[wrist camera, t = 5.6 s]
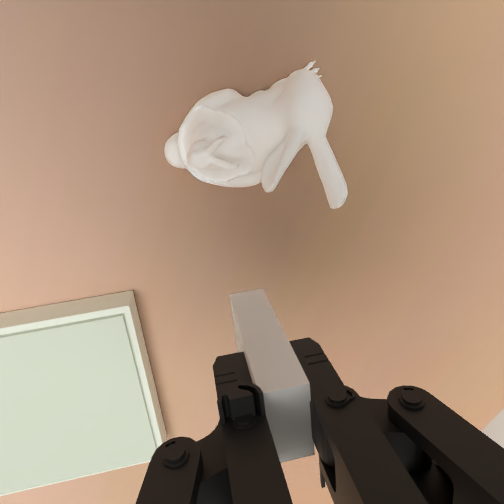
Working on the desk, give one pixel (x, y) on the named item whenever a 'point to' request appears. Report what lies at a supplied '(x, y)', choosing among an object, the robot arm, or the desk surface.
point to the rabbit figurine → (259, 135)
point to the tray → (75, 392)
